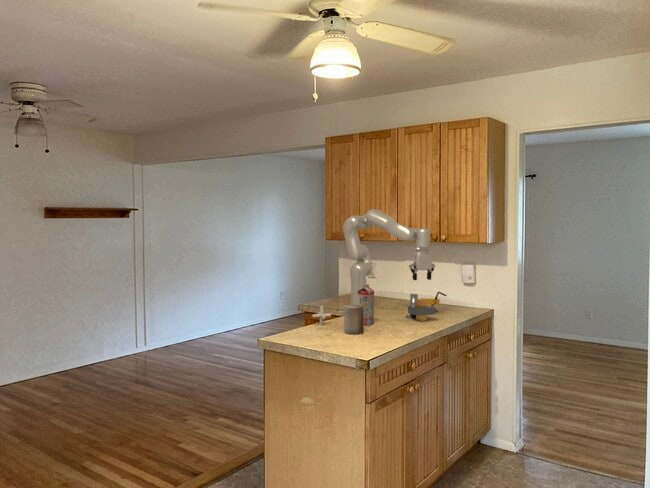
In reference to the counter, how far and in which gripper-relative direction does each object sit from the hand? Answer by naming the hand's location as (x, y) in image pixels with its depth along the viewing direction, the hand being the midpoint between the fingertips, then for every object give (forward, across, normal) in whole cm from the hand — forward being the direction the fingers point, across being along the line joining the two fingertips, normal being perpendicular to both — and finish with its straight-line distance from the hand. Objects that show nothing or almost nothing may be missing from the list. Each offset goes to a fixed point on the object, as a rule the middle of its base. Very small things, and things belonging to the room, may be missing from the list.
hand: (421, 279), depth 288 cm
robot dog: (+24, +22, +20) cm, 38 cm away
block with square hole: (+23, 0, +4) cm, 24 cm away
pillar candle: (+24, -51, -14) cm, 58 cm away
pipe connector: (+24, -58, +10) cm, 63 cm away
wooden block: (+23, 0, 0) cm, 23 cm away
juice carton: (+24, -36, +1) cm, 43 cm away
